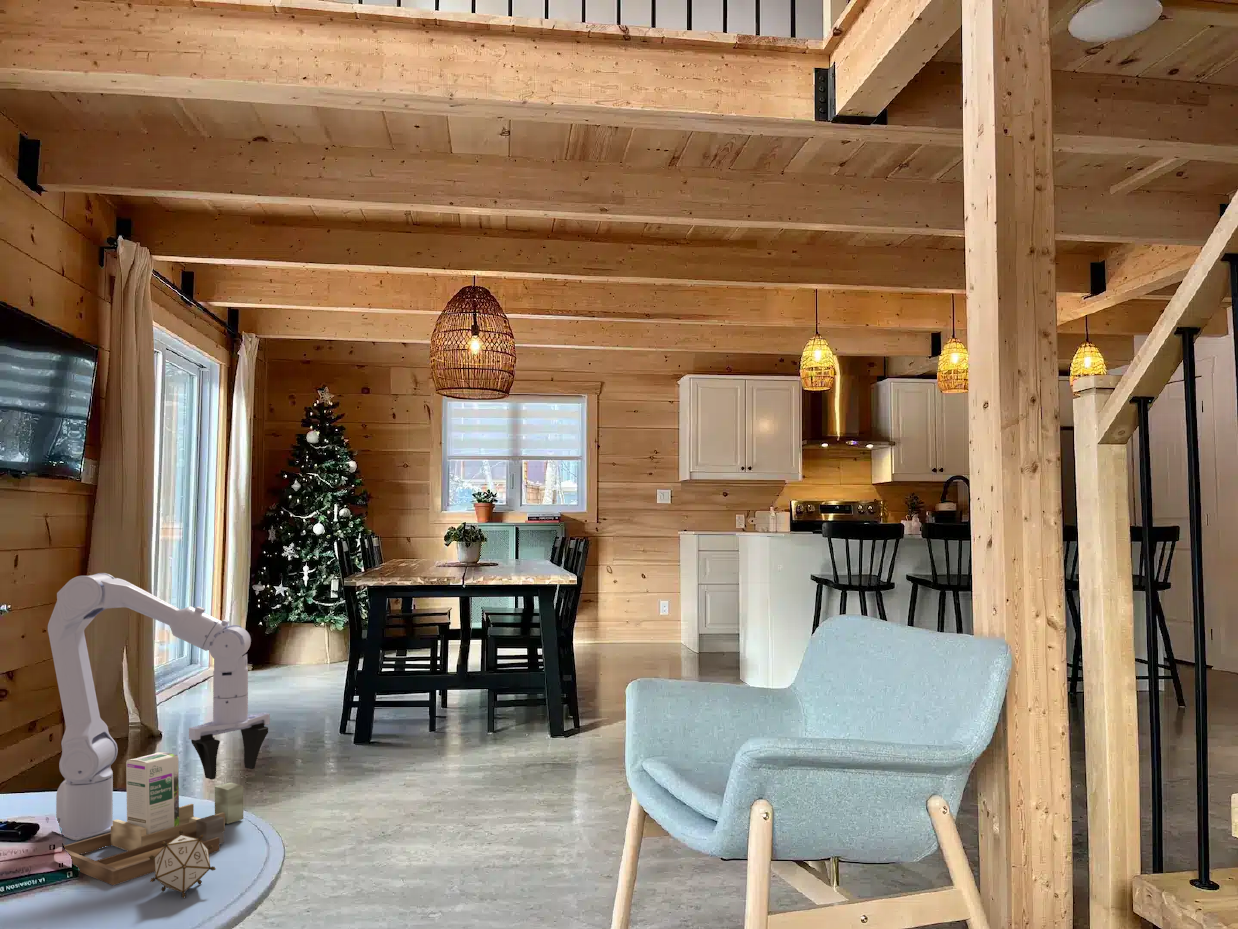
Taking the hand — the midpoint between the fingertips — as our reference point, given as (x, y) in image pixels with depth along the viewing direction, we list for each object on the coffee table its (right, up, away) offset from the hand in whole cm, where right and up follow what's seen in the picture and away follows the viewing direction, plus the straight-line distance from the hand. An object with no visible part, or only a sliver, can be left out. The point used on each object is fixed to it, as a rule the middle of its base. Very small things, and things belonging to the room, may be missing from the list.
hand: (230, 773), depth 167 cm
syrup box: (-7, -8, -13) cm, 17 cm away
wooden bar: (-2, -7, -19) cm, 20 cm away
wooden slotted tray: (-5, -8, -7) cm, 12 cm away
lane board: (-7, -8, -17) cm, 20 cm away
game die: (+6, -7, -32) cm, 33 cm away
